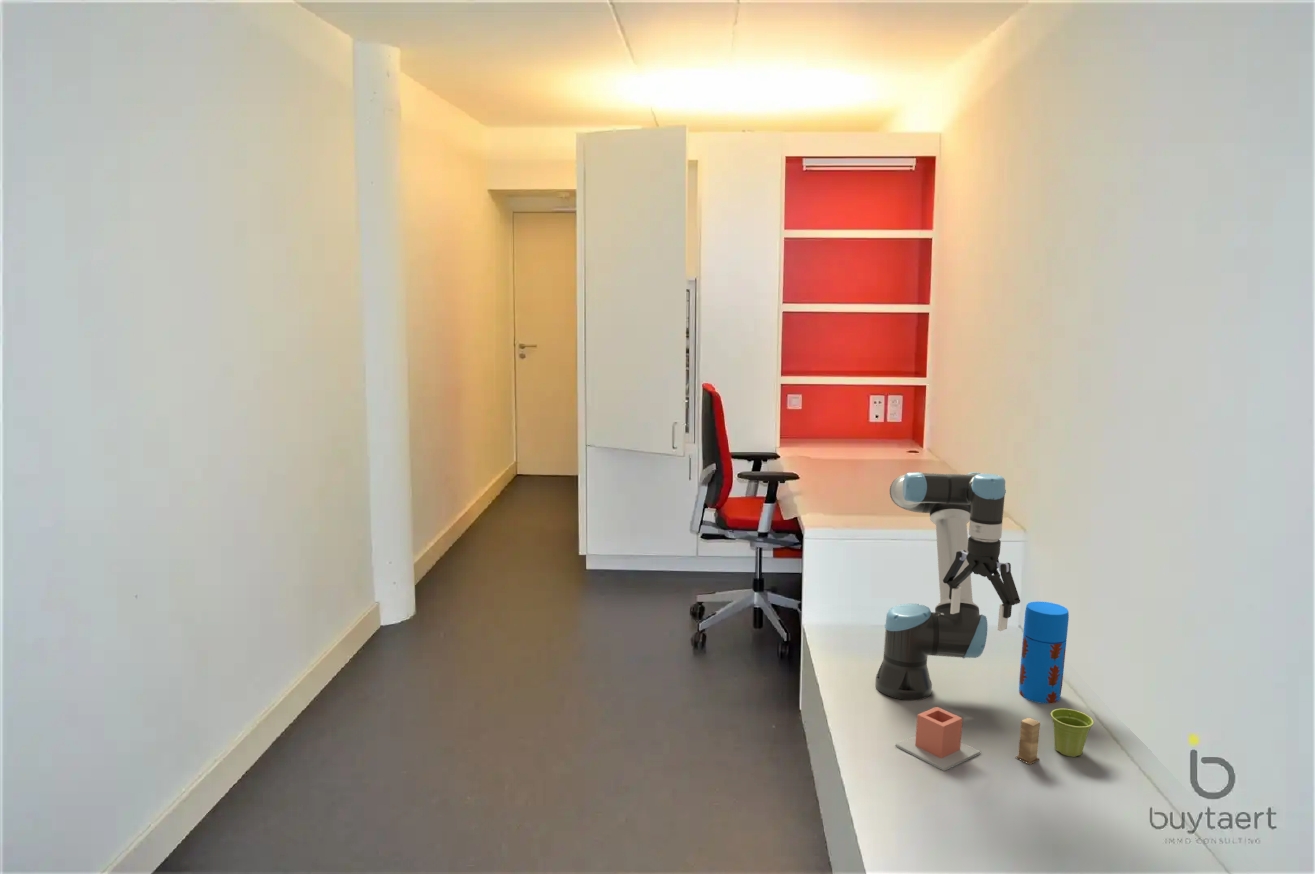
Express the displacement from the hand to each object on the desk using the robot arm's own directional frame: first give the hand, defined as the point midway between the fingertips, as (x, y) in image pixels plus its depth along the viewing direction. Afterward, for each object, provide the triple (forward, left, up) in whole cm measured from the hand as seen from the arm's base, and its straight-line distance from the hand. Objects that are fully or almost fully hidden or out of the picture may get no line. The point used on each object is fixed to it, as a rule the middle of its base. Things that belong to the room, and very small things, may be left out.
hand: (977, 621), depth 228 cm
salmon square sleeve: (+2, -16, -28) cm, 32 cm away
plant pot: (+21, +10, -29) cm, 37 cm away
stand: (+17, -2, -29) cm, 33 cm away
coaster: (+2, -16, -29) cm, 33 cm away
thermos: (-1, +33, -29) cm, 44 cm away
